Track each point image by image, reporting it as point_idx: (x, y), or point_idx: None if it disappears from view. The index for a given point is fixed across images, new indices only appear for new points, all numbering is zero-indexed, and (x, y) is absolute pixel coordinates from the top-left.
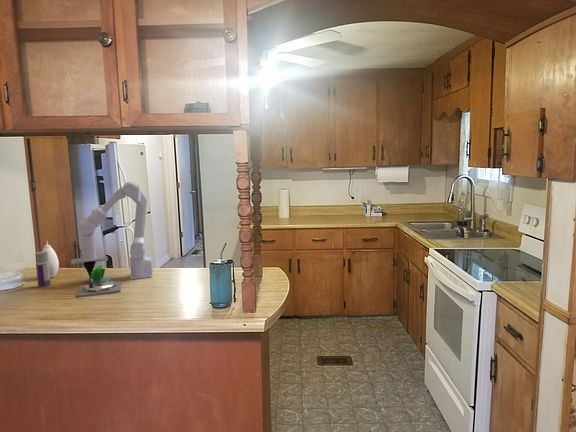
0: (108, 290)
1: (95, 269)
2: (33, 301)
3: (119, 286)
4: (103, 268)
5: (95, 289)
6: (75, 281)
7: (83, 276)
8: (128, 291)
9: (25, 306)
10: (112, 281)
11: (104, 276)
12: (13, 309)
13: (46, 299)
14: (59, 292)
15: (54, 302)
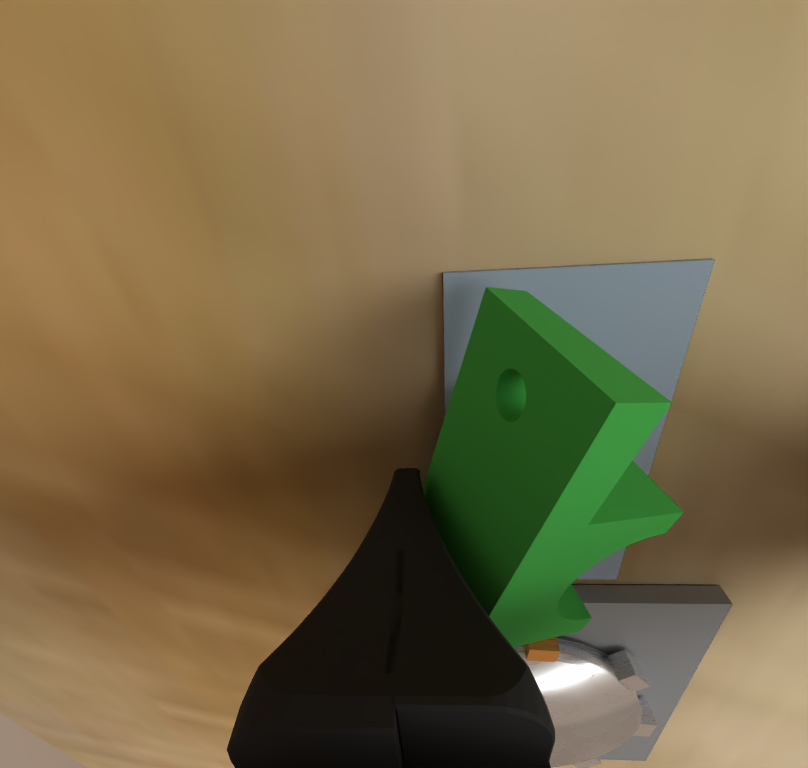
0: None
1: (499, 621)
2: (129, 710)
3: (663, 714)
4: (654, 516)
5: None
6: (199, 372)
7: (204, 66)
8: (690, 747)
9: (136, 745)
10: (639, 687)
11: (595, 271)
12: (101, 755)
13: (192, 707)
14: (208, 636)
15: None
